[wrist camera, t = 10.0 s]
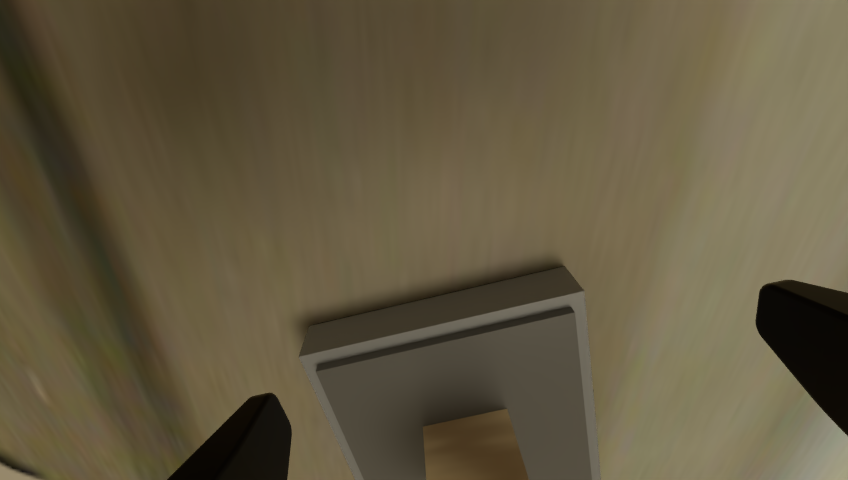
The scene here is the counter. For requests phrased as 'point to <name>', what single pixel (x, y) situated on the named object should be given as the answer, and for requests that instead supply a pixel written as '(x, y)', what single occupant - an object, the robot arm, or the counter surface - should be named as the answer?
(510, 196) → the counter surface
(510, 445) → the oak block
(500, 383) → the plate
